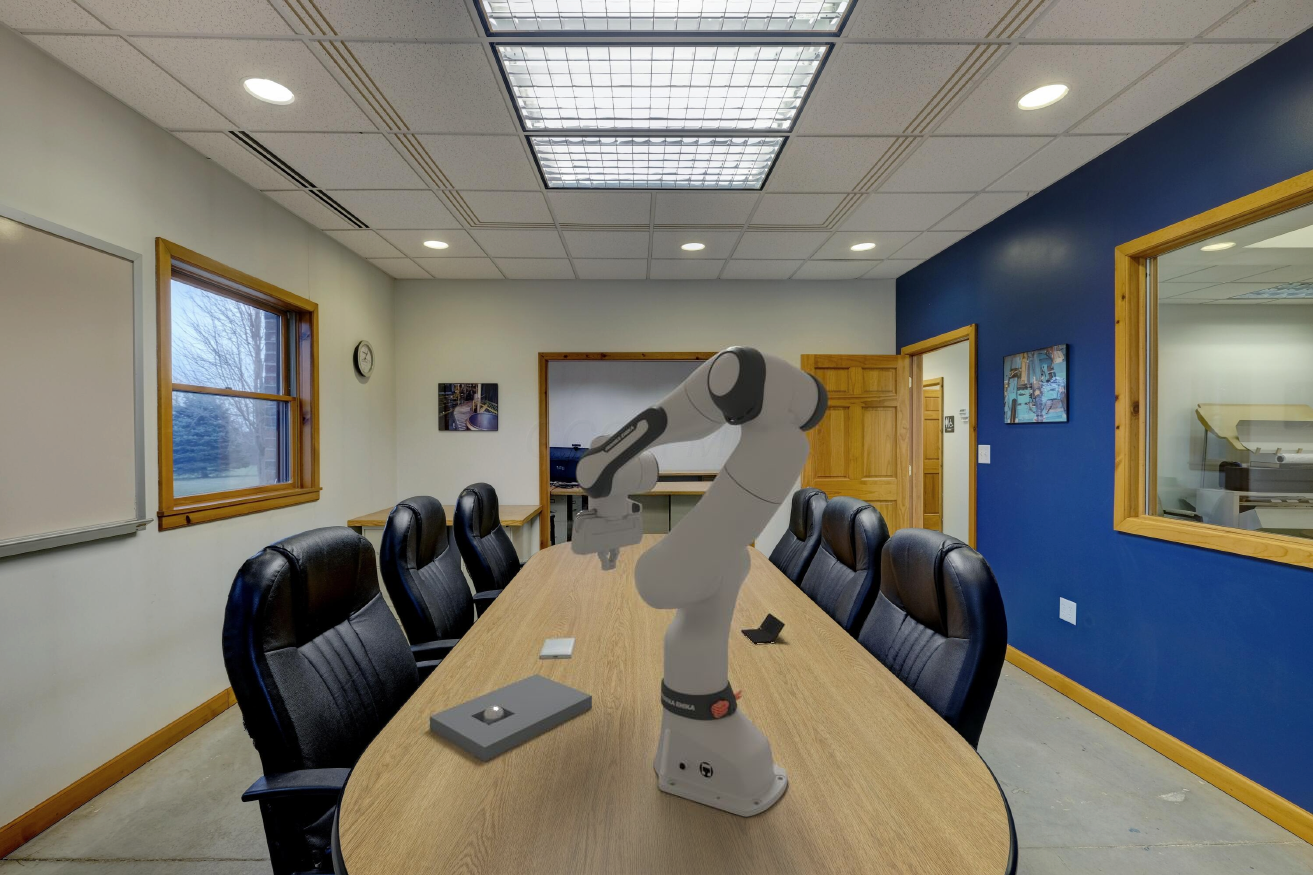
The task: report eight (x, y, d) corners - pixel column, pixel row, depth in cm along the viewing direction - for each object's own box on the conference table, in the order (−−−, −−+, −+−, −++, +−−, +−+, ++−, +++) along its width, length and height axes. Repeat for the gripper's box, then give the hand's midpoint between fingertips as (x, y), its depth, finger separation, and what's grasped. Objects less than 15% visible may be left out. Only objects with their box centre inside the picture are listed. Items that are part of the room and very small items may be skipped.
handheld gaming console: (735, 628, 164) (755, 600, 165) (750, 640, 166) (770, 613, 167) (754, 646, 153) (776, 617, 154) (771, 659, 155) (792, 630, 157)
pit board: (591, 707, 116) (592, 695, 116) (484, 762, 96) (484, 747, 96) (536, 684, 127) (536, 673, 127) (429, 729, 107) (429, 716, 107)
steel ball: (511, 710, 109) (496, 706, 106) (503, 732, 107) (487, 728, 104) (499, 704, 111) (484, 700, 109) (491, 726, 110) (475, 722, 107)
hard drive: (545, 638, 156) (539, 654, 143) (575, 637, 156) (571, 653, 144) (545, 644, 156) (539, 661, 143) (575, 643, 156) (571, 660, 144)
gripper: (585, 512, 114) (586, 579, 114) (646, 504, 131) (647, 563, 130) (564, 510, 118) (564, 576, 118) (626, 503, 134) (627, 561, 134)
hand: (608, 569), depth 124 cm, fingers closed
